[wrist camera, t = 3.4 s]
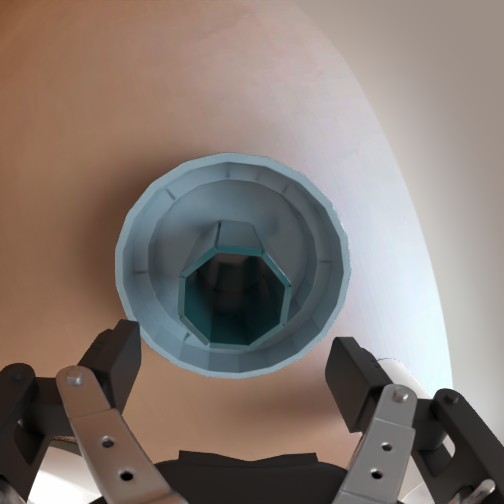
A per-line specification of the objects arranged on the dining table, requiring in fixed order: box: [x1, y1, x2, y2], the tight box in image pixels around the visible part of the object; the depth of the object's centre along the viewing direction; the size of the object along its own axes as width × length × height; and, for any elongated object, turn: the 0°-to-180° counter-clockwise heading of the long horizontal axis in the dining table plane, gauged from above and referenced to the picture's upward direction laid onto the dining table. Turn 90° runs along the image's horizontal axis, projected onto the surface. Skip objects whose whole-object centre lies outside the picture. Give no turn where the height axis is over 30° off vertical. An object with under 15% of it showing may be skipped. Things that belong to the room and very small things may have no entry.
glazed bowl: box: [115, 152, 351, 379], centre depth 23 cm, size 16×16×6 cm
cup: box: [359, 359, 455, 504], centre depth 23 cm, size 8×8×16 cm
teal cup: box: [177, 220, 292, 351], centre depth 21 cm, size 6×6×9 cm
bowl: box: [28, 440, 101, 504], centre depth 29 cm, size 22×22×8 cm
